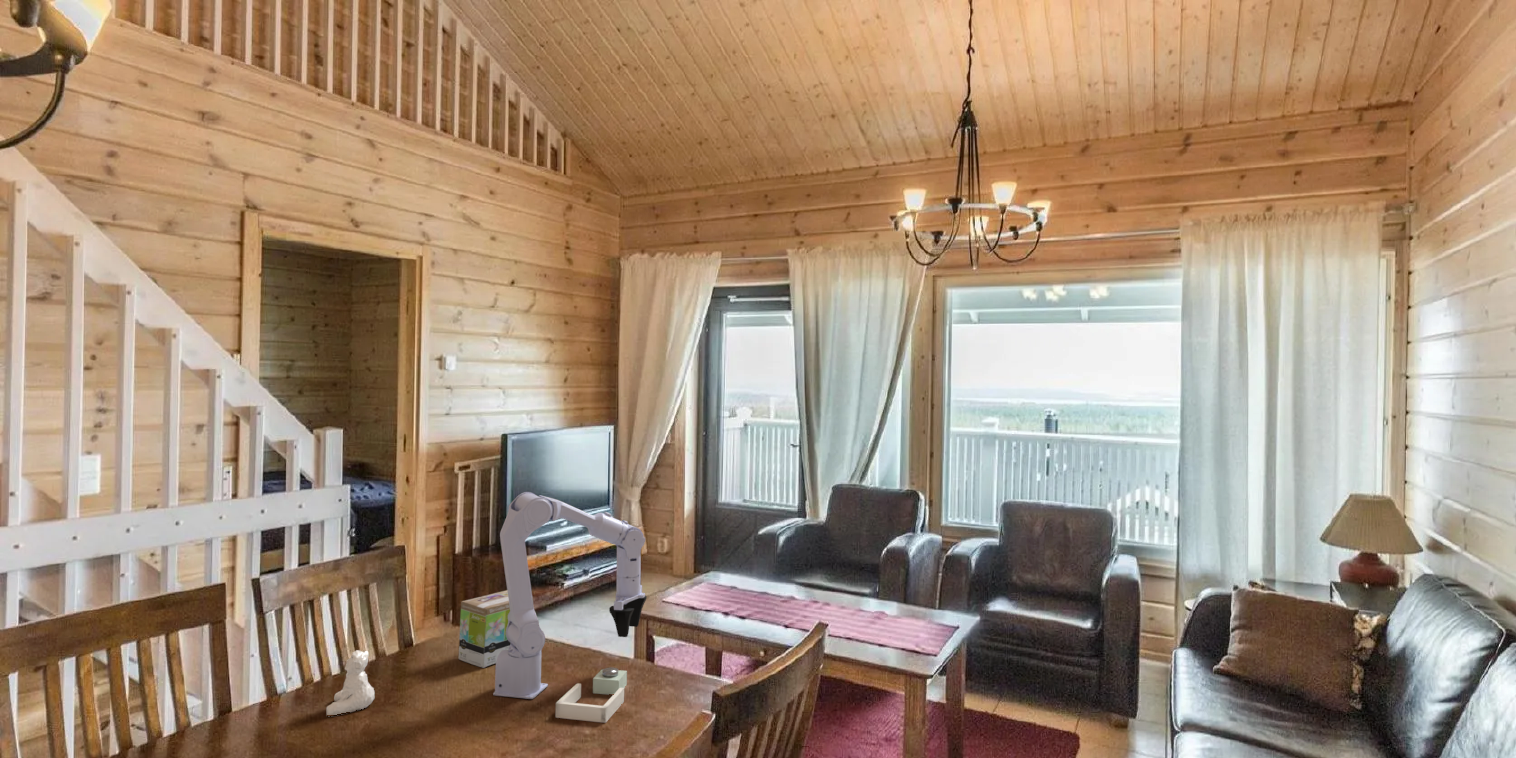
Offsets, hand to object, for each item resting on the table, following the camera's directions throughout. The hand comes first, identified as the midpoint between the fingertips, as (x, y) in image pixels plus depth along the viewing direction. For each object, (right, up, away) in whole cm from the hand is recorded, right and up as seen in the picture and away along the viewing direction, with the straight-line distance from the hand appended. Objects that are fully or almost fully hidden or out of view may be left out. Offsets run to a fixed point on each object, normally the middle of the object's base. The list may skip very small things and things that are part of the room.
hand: (628, 631), depth 197 cm
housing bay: (-4, -10, -22) cm, 24 cm away
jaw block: (-2, -10, -11) cm, 15 cm away
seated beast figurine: (-55, -9, -24) cm, 60 cm away
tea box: (-34, -9, +8) cm, 37 cm away
